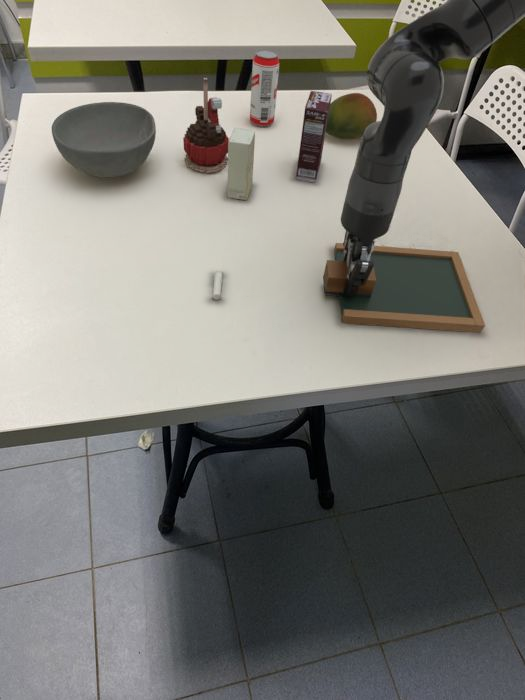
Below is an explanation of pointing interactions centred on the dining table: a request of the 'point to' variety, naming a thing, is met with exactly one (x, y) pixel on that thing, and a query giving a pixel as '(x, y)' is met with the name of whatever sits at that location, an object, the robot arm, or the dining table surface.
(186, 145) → the cake
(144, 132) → the bowl
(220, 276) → the chalk
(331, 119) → the fruit
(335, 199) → the dining table surface
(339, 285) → the eraser
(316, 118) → the supplement box
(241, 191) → the cosmetic box
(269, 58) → the beer can
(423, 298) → the slate board
